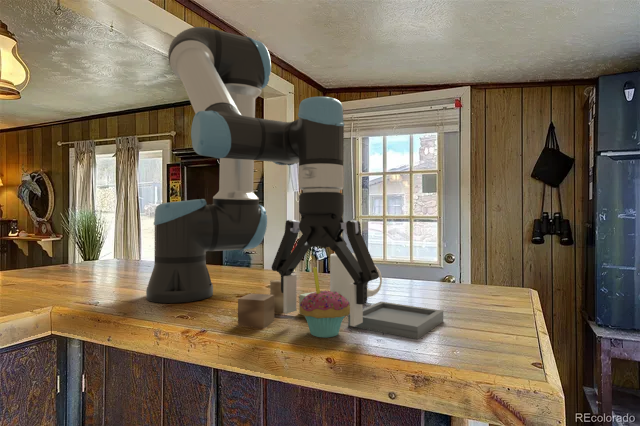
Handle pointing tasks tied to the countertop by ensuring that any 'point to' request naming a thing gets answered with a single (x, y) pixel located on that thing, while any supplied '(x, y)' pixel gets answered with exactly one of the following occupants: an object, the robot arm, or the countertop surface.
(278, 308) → the oak cylinder
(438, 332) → the countertop surface
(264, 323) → the walnut block
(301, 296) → the sage block
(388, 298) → the countertop surface
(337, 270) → the mug
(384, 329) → the tray
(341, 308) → the cupcake
